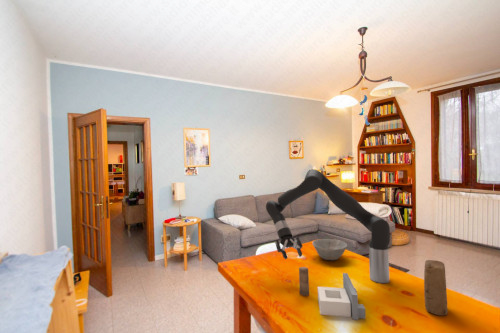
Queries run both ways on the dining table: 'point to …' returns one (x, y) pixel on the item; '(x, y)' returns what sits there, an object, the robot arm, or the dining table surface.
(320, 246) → the ceramic bowl
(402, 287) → the dining table surface
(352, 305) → the backstop
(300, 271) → the dowel
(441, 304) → the block
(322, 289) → the socket
